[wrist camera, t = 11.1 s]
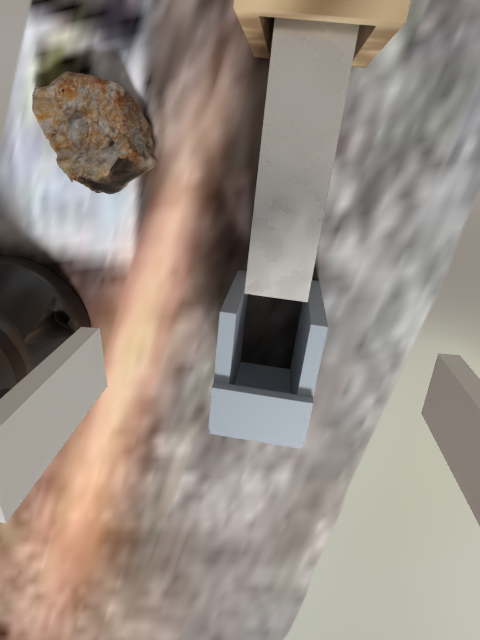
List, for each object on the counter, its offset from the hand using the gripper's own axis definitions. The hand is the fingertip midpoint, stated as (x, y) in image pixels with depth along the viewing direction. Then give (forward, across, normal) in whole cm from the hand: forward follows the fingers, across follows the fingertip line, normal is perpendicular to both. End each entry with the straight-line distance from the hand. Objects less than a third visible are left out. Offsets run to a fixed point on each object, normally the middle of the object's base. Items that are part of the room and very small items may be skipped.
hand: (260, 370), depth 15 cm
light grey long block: (+22, +1, +7) cm, 23 cm away
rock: (+23, -16, +8) cm, 29 cm away
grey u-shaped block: (+22, 0, -8) cm, 23 cm away
